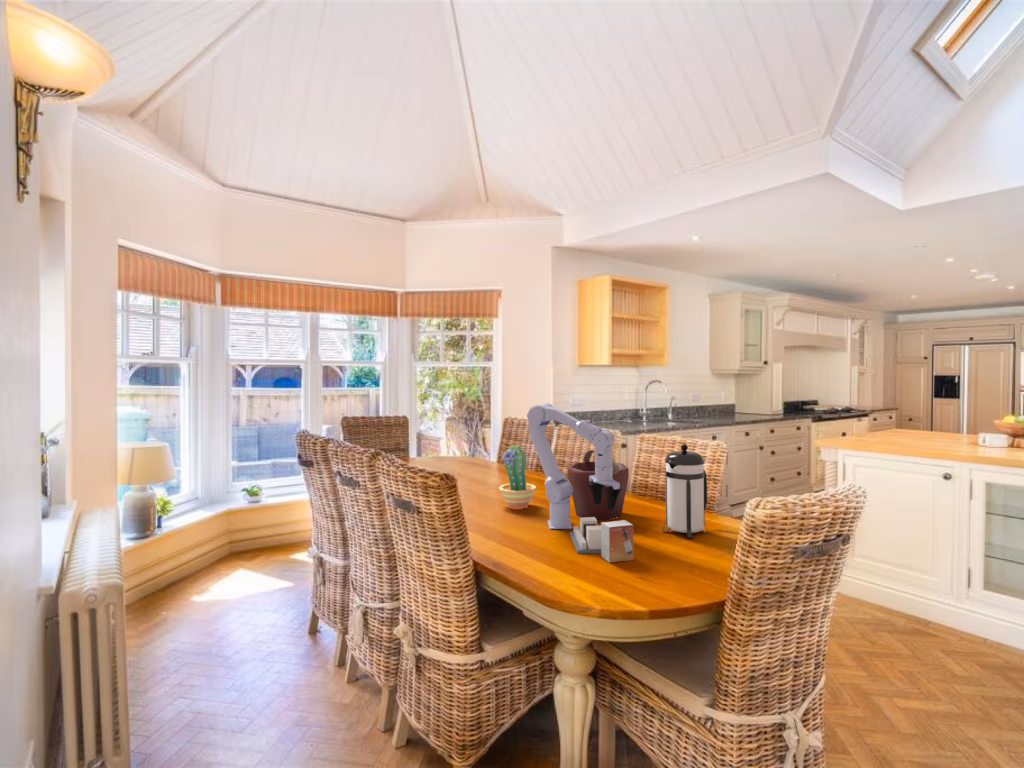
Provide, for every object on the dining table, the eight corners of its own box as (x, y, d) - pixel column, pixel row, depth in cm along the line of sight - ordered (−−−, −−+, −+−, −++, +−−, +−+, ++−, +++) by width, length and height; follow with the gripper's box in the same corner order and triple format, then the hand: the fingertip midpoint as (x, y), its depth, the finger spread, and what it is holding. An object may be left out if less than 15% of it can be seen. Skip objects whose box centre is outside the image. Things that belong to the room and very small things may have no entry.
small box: (609, 563, 152) (608, 527, 151) (600, 556, 157) (600, 521, 157) (634, 560, 154) (633, 524, 153) (625, 553, 159) (624, 519, 159)
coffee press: (715, 540, 169) (715, 448, 168) (664, 538, 172) (663, 447, 171) (706, 524, 186) (706, 440, 185) (660, 523, 189) (659, 440, 188)
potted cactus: (493, 504, 219) (491, 444, 218) (526, 499, 226) (525, 441, 225) (508, 513, 205) (507, 449, 204) (543, 508, 212) (542, 446, 211)
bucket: (634, 523, 189) (633, 454, 188) (572, 525, 189) (571, 455, 188) (619, 505, 214) (618, 444, 213) (564, 507, 213) (563, 445, 212)
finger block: (580, 535, 174) (579, 517, 174) (595, 535, 174) (594, 517, 174) (582, 539, 169) (582, 521, 169) (597, 539, 170) (597, 521, 169)
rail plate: (569, 534, 178) (569, 514, 178) (604, 533, 178) (604, 513, 178) (577, 553, 160) (577, 530, 160) (616, 552, 160) (616, 529, 160)
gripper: (581, 464, 182) (582, 502, 183) (607, 471, 169) (607, 512, 170) (598, 462, 185) (599, 500, 186) (624, 468, 172) (625, 509, 173)
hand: (604, 506), depth 178 cm, fingers open, 7 cm apart
